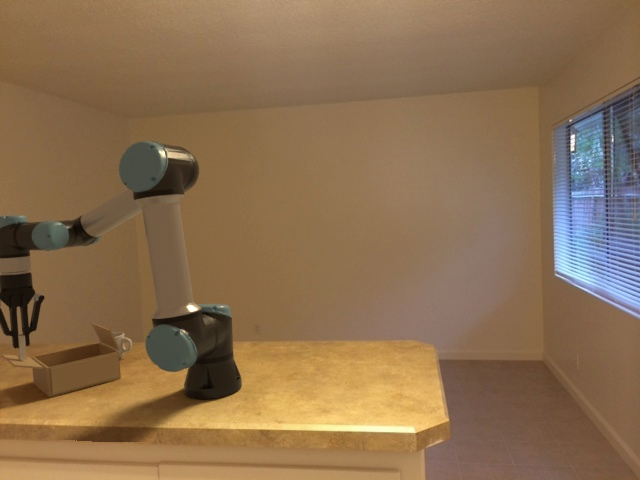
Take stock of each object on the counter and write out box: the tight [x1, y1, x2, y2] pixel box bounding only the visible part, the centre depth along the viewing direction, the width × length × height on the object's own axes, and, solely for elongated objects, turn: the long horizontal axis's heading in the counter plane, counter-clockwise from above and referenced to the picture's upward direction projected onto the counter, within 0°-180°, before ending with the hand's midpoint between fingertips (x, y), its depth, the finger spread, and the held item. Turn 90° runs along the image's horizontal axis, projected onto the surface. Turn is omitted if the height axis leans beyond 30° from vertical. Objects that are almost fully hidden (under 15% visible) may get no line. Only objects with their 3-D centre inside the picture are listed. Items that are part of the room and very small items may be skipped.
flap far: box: [91, 322, 120, 350], centre depth 150 cm, size 15×1×7 cm, turn 43°
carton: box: [30, 342, 122, 398], centre depth 144 cm, size 17×19×8 cm
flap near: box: [1, 353, 43, 369], centre depth 134 cm, size 15×1×7 cm
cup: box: [98, 331, 133, 359], centre depth 166 cm, size 11×8×8 cm
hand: (22, 358), depth 135 cm, fingers closed
